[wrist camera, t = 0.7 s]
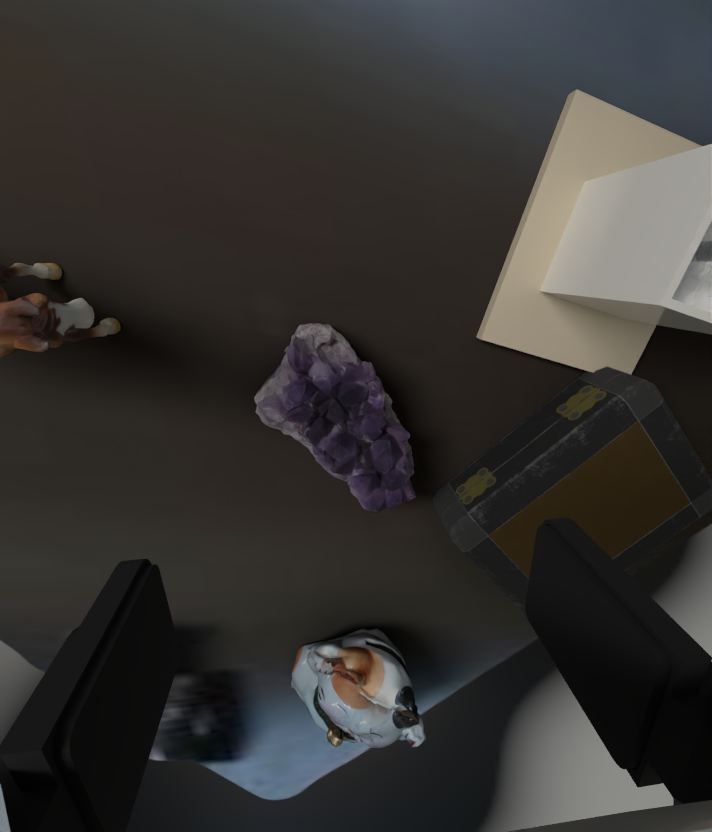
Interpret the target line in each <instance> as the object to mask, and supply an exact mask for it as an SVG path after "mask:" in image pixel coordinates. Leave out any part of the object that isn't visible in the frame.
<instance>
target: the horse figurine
mask: <svg viewBox="0 0 712 832" xmlns="http://www.w3.org/2000/svg"><path fill="white" fill-rule="evenodd" d="M25 275H35V276H37V277H39V278H44V279H45V278H47V279H51V280H58V279H60V278H61V276H62V270H61V268H60V267H59V266H58V265H57V264H54V263H44V264H42V263H36V264H34V266H29V265H26V264H22V263H15V264H14V265H12V266H10V267H5V266H2V265H0V283H7V282H8V281H9V280H10V278H12V277H17V276H18V277H21V276H25ZM93 322H94V311H93V308H92V307H91V306H90V305H89V304H88V303H87V302H86V301H85V300H84V299H83V298H78V299H75V300H72V301H70V302H69V303H63V304H62V303H57V302H55V301H53V300H50V299H49V298H48V297H47V296H46V295H43V294H41V293H33V294H30V295H27V296H24V297H20V298H18V299H16V300H15V301H8V297H7V293H6V291H5V290H4V289H3V288H2V287H1V286H0V358H1V357H4V356H6V355H8V354H10V353H11V352H12V351H13V350H14V349H15V348H19V349H25V350H29V351H34V352H43V351H46V350H48V348H49V347H51V348H56V347H60V346H61V345H62V344H63V343H65V344H69V343H75V342H78V341H81V340H83V339H86V338H92V337H99V336H101V337H104V336H106V335H108V334H116V333H117V332H119V331H120V329H121V328H120V323H119V322H118V321H117V320H116V319H114V318H105V319H103V320H102V321H100V325H97V326H96V327H94V328H90V327H91V326H92V324H93ZM87 328H88V329H87Z"/></svg>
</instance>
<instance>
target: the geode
mask: <svg viewBox="0 0 712 832" xmlns="http://www.w3.org/2000/svg"><path fill="white" fill-rule="evenodd" d="M285 352H286V355H285V356H284V358H283V360H282V362H281V364H280V365H279V366H278V367H277V368H276V369H275V371H274V372H273V373H272V374H271V375H270V376H269V377H268V378H267V379H266V381H265V382H264V384H263V385H262V387H261V388H260V389H259V390H258V392H257V394H256V396H255V397H254V399H255V402H256V404H257V409H256V413H257V414H258V415H259V416H260V419H261V421H262V422H263V423H264V424H266V425H267V426H269V427H271V428H276V429H279V430H281V431H282V432H283V433H284V435H291V436H292V437H293V438H294V439H296V440H298V441H300V442H301V443H302V444H303V445H304V446H306V447H307V448H308V449H309V450H310V451H311V453H312V454H313V455H314V456H315V457H316V461H317V462H318V463H319V464H321V466H322V467H323V468H324V469H325V470H326V471H327V472H328V473H330V474H331V475H332V476H334V477H336V478H339V479H342V480H344V481H347V483H348V485H349V487H350V490H351V493H352V494H353V495H354V496H355V497H357V498H358V500H359V502H360V504H361V506H362V507H363V508H364V509H366V510H369V511H371V512H375V513H378V512H379V511H381V510H383V509H385V508H388V507H393V506H397V505H401V504H403V503H406V502H408V501H409V500H411V499H413V498H415V497H416V495H415V492H414V490H413V487H412V485H411V482H410V477H411V475H413V474H414V470H413V467H414V462H413V457H412V450H411V446H410V444H409V443H408V439H409V438H410V433H409V432H407V431H406V430H405V429H404V428H403V426H402V425H401V423H400V421H399V420H398V418H397V415H396V413H395V412H394V411H393V410H392V408H391V404H392V399H391V398H390V397H389V395H388V394H387V393H385V392H384V389H383V386H382V383H381V380H380V378H379V377H378V376H376V374H375V370H374V368H373V365H372V363H370V362H367V361H361V360H360V358H359V357H357V356H356V354H355V352H354V350H353V349H352V347H351V346H350V344H349V343H348V341H347V340H346V339H345V338H344V337H343V336H342V335H341V334H340V333H338V332H336V331H335V329H333V328H332V327H331V326H330V325H329V324H327V325H322V324H316V323H315V324H305V325H299V326H298V328H297V330H296V332H295V334H294V335H292V337H291V343H290V345H289V346H287V348H286V349H285Z"/></svg>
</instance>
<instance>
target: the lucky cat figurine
mask: <svg viewBox="0 0 712 832" xmlns="http://www.w3.org/2000/svg"><path fill="white" fill-rule="evenodd" d="M291 685H292V688H294V689H295V690H296V691H297V693H298V694H299V696H300V698H301V699H302V700H303V701H304V702H305V703H306V705H307V707H308V711H309V713H310V716H311V717H313V720H314V722H315V723H316V724H317V725H318V727H319V728H320V729H322V730H323V731H325V732H327V739H328V741H329V742H330V743H331V744H332V745H334V746H335V747H337V746H339V745H341V744H342V741H349V742H352V743H355V742H364V743H365V744H366V745H368V746H369V747H373V748H382V747H386V746H388V745H390V744H391V743H393V742H395V741H396V740H397V739H399V740H406V739H407V741H408V742H409V743H410V744H411V746H412V747H417V746H419V745H420V744H421V743H422V742H423V741H424V740H425V739H426V735H425V733H424V731H423V727H424V726H423V722H422V719H421V716H420V715H419V714H418V713H417V706H416V705H415V699H414V693H413V689H412V685H411V681H410V677H409V674H408V671H407V667H406V664H405V662H404V660H403V656H402V654H401V652H400V650H399V649H398V648H397V647H396V646H395V645H394V644H393V643H392V642H391V641H390V640H389V639H388V637H387V636H386V635H385V634H384V633H383V632H382V631H380V630H379V629H377V628H376V629H373V630H365V629H361V630H358V631H355V632H353V633H350V634H348V635H345V636H342V637H338V638H335V639H332V640H328V641H324V642H316V643H313V644H309V645H305V646H302V647H301V648H300V649H299V651H298V652H297V656H296V660H295V664H294V666H293V669H292V681H291Z"/></svg>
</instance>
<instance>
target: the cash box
mask: <svg viewBox="0 0 712 832" xmlns="http://www.w3.org/2000/svg"><path fill="white" fill-rule="evenodd" d="M432 501H433V504H434V507H435V510H436V512H437V514H438V516H439V518H440V519H441V521H442V523H443V525H444V527H445V529H446V531H447V533H448V535H449V536H450V538H451V540H452V542H453V543H454V544H455V545H456V546H457V547H458V548H459V549H460V550H461V551H462V552H463V553H464V554H465V555H466V556H467V557H468V558H469V559H470V560H471V561H472V562H473V563H474V564H475V565H476V566H477V567H478V568H479V569H480V570H481V571H482V572H483V573H484V574H485V575H486V576H487V577H488V578H489V579H490V580H491V581H492V582H493V583H494V584H495V585H497V586H498V587H499V588H500V589H501V590H502V591H503V592H504V593H505V594H506V595H507V596H508V597H509V598H510V599H511V600H512V601H513V602H514V603H515V604H516V605H517V606H518V607H519V608H520V609H521V610H522V611H523V612H524V613H525V614H526V611H525V603H526V597H527V590H528V584H529V577H530V571H531V564H532V558H533V551H534V544H535V538H536V531H537V528H538V527H539V526H542V524H543V522H544V520H547V519H556V518H566V517H567V518H570V519H572V520H573V521H574V522H575V523H576V524H577V525H578V526H579V527H580V528H581V529H582V530H583V531H584V532H585V533H586V534H587V535H588V536H589V537H590V538H591V539H592V540H593V541H594V542H595V543H596V544H597V545H598V546H599V547H600V548H601V549H602V550H603V551H604V552H605V553H607V554H608V555H609V556H610V557H611V558H612V559H613V560H614V561H615V562H616V563H617V564H618V565H619V566H620V567H621V568H622V569H623V570H624V571H625V570H627V569H628V568H630V567H631V566H632V565H634V564H635V563H637V562H638V561H640V560H641V559H642V558H644V557H645V556H647V555H648V554H649V553H651V552H652V551H654V550H655V549H657V548H658V547H659V546H661V545H662V544H664V543H665V542H666V541H668V540H669V539H671V538H672V537H674V536H675V535H676V534H678V533H679V532H681V531H682V530H683V529H685V528H686V527H688V526H689V525H691V524H692V523H693V522H695V521H696V520H698V519H699V518H700V517H702V516H703V515H705V514H706V513H707V512H709V511H710V510H712V479H711V477H710V476H709V474H708V472H707V471H706V469H705V467H704V466H703V464H702V462H701V461H700V459H699V457H698V456H697V454H696V452H695V451H694V449H693V447H692V445H691V444H690V442H689V440H688V439H687V437H686V435H685V434H684V432H683V430H682V429H681V427H680V425H679V424H678V422H677V420H676V419H675V417H674V415H673V414H672V412H671V410H670V409H669V407H668V405H667V404H666V402H665V400H664V398H663V397H662V395H661V394H660V392H659V390H658V389H657V387H656V386H655V385H654V384H652V383H650V382H649V381H647V380H645V379H642V378H640V377H637V376H634V375H631V374H628V373H625V372H622V371H619V370H616V369H613V368H610V367H604V368H602V369H599V370H596V371H595V372H594V373H593V372H589V371H585V372H584V373H583V374H582V375H580V376H579V377H578V378H577V379H575V380H574V381H573V382H572V383H570V384H569V385H568V386H567V387H565V388H564V389H563V390H562V391H560V392H559V393H558V394H557V395H556V396H554V397H553V398H552V399H551V400H549V401H548V402H547V403H546V404H544V405H543V406H542V407H541V408H539V409H538V410H537V411H536V412H534V413H533V414H532V415H531V416H529V417H528V418H527V419H526V420H524V421H523V422H522V423H521V424H520V425H518V426H517V427H516V428H515V429H513V430H512V431H511V432H510V433H508V434H507V435H506V436H505V437H503V438H502V439H501V440H500V441H498V442H497V443H496V444H495V445H493V446H492V447H491V448H490V449H488V450H487V451H486V452H485V453H483V454H482V455H481V456H480V457H479V458H477V459H476V460H475V461H474V462H472V463H471V464H470V465H469V466H467V467H466V468H465V469H464V470H462V471H461V472H460V473H459V474H457V475H456V476H455V477H454V478H452V479H451V480H450V481H449V482H448V483H446V484H445V485H444V486H443V487H441V488H440V489H439V490H438V491H437V492H436V494H435V495H434V497H433V499H432Z"/></svg>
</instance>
